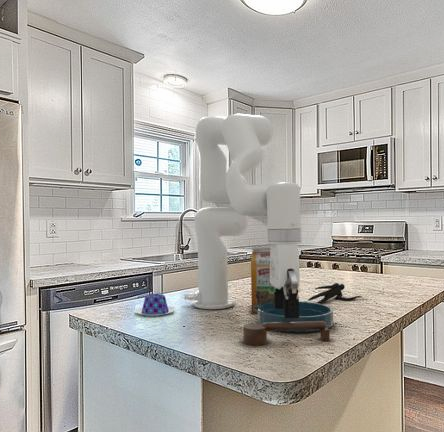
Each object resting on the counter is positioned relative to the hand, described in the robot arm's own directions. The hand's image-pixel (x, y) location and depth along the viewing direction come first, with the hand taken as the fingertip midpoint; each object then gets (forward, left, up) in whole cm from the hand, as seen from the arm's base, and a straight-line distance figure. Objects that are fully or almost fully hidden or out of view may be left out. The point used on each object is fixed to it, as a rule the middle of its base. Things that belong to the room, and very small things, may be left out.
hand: (286, 313), depth 93 cm
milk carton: (+3, +32, -7) cm, 33 cm away
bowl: (+6, +15, -6) cm, 18 cm away
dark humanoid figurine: (+26, +40, -7) cm, 48 cm away
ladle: (0, 0, -6) cm, 6 cm away
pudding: (-32, +32, -7) cm, 46 cm away
